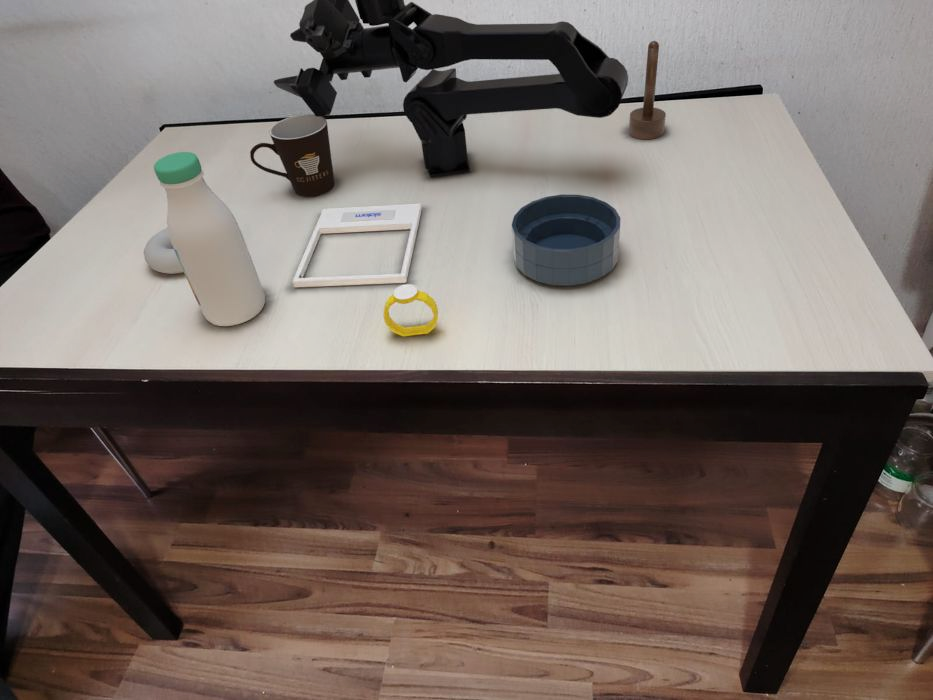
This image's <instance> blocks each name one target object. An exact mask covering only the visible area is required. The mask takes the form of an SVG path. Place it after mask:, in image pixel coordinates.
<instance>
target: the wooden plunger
mask: <svg viewBox="0 0 933 700" xmlns="http://www.w3.org/2000/svg"><path fill="white" fill-rule="evenodd" d="M659 53H660V43H659V42H658V41H656V40H652V41H650V42H649V43H648V46H647V56H646V69H645V81H644V93H643V104H642V105H643V106H642V107H638V108H636V109H634V110H632V111H631V112H630V113H629V123H628V134H629V136H631V137H632V138H634V139H638V140H655V139H658V138H660V137H662V136H663V135H664V133H665V127H666V126H665V125H666V119H667V118H666V117H667V116H666V115H667V113H666V111H665V110H663V109H661V108H659V107H655V98H656V97H655V96H656V95H655V94H656V87H657V86H656V85H657V74H658V63H659Z"/></svg>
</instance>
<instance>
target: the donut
mask: <svg viewBox="0 0 933 700" xmlns="http://www.w3.org/2000/svg"><path fill="white" fill-rule="evenodd" d="M143 257H144V261H145V263H146V265H148V266H149V268H151V269H152V270H154V271H155V272H159V273H162V274H166V275H167V274H169V275H170V274H171V275H173V274H174V275H175V274H181V273H184V271H183V269H182V267H181V265H180V262H179V260H178V258H177V256H176V253H175V251H174V248H173V246H172V243H171V241H170V237H169V234H168V228H167V227H166V228H164V229H162V230H160V231H158V232H157V233H155V234H154V235H152V236H151V237H150V239H148V240H147V242H146V244H145V246H144V249H143Z"/></svg>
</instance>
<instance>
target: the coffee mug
mask: <svg viewBox="0 0 933 700" xmlns="http://www.w3.org/2000/svg"><path fill="white" fill-rule="evenodd" d="M268 133H269V136H270V137H271V140H272V143H268V142H260V143H257V144H256V145H254V146H253V147H252V148H251V149H250V151H249V155H250V161H251V163H252V164H253V165H254V166H256V167H257V168H258V169H259V170H262V171H264V172H266V173H268V174H273V175H275V176H280V177H281V178H282V177H283V178H285V179H287V180H288V182H290V184H291V186H292V188H293V191H294V193H295V195H297V196H299V197H301V198H314V197H319V196H322V195H324V194H327V193H328V192H330V191H332V190H333V189H334V187H335V175H334V167H333V159H332V153H331V152H332V151H331V145H330V136H329V135H330V134H329V127H328V121H327V119H326V118H325V116H320V117H316V116H315V114H300V115H294V116H289V117H287V118H284V119H281V120H279V121H277V122H276V123H274V124H273V125H272V126H271V127H270V128H269V131H268ZM261 148H268V149H270V150H271V151H273V153H274V154H276V155H277V156H279V159H280V161H281V163H282V165H283V168H284V170H285V172H282V171H279V170H275V169H272V168H270V167H269V168H268V167H266V166H264V165H262V164H260V163H259V162H258V161H256V159H255V153H256V152H257V151H258V150H259V149H261Z"/></svg>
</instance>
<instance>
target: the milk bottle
mask: <svg viewBox="0 0 933 700" xmlns="http://www.w3.org/2000/svg"><path fill="white" fill-rule="evenodd" d="M153 170H154V174H155V176H156V178H157V180H158V181H159V185H160V186H161V187H162V188H164V190H165V194H166V199H167V214H166V225H167V226H166V228H168V234H169V237H170V241H171V243H172V246H173V248H174V251H175V253H176V256H177V258H178V260H179V262H180V265H181V267H182V269H183V271H184V272H183V274H184V275H185V278H186V280H187V282H188V284H189V287H190V289H191V291H192V294H193V295H194V297H195V300H196V302H197V304H198V306H199V310H201V312H202V314H203V317H204V318H205V320H206V321H208V322H209V323H211V325H212V324H213V325H214V326H220V327H231V326H237V325H239V324H243V323H246V322H248V321H250V320H252V319H253V318H255V317H256V316H257V315H258V314H260V313H261V311H262V310H263V308H264V307H265V303H266V295H265V291H264V289H263V286H262V282H261V281H260V278H259V275H258V273H257V270H256V267H255V264H254V262H253V259H252V256H251V254H250V251H249V249H248V245H247V243H246V241H245V238H244V235H243V233H242V231H241V228H240V226H239V223H238V221H237V219H236V217H235V216H234V213H233V212H232V211H231V209H230V208H229V206H228V205H227V204H226V203H225V202H224V201H223V200H222V199H221V198H220V197H219V196H218V195H217V194H216V193H215V192H214V191H213V190H212V188H211V187H210V186H209V185H208V183H207V182H206V180H205V178H204V175H205V172H204V170H203V169H202V165H201V162H200V159H199V157H198V156H197V154H195V153H193V152H190V151H179V152H173V153H170V154H167V155H165V156H163V157H161V158H160V159H158V160H157V161H156V162H155V163H154V165H153Z"/></svg>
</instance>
